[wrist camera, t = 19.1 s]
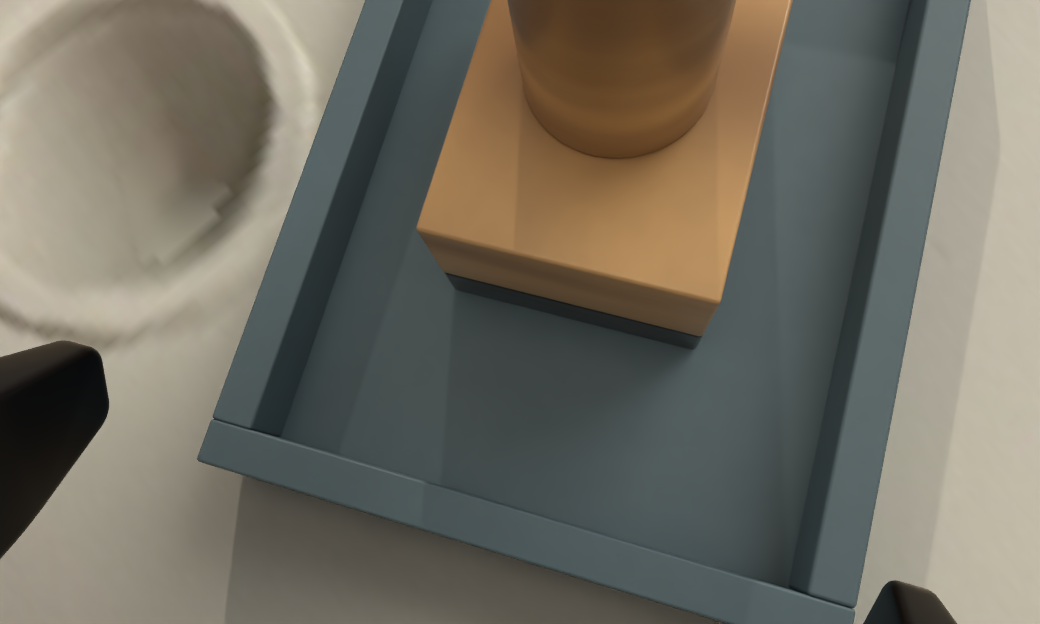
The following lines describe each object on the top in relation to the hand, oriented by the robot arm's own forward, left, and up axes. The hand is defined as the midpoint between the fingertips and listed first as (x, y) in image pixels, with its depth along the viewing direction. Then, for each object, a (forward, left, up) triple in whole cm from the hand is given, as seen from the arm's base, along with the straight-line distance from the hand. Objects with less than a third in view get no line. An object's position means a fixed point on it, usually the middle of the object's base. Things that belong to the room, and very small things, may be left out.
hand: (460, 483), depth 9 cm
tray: (+7, -4, -7) cm, 11 cm away
